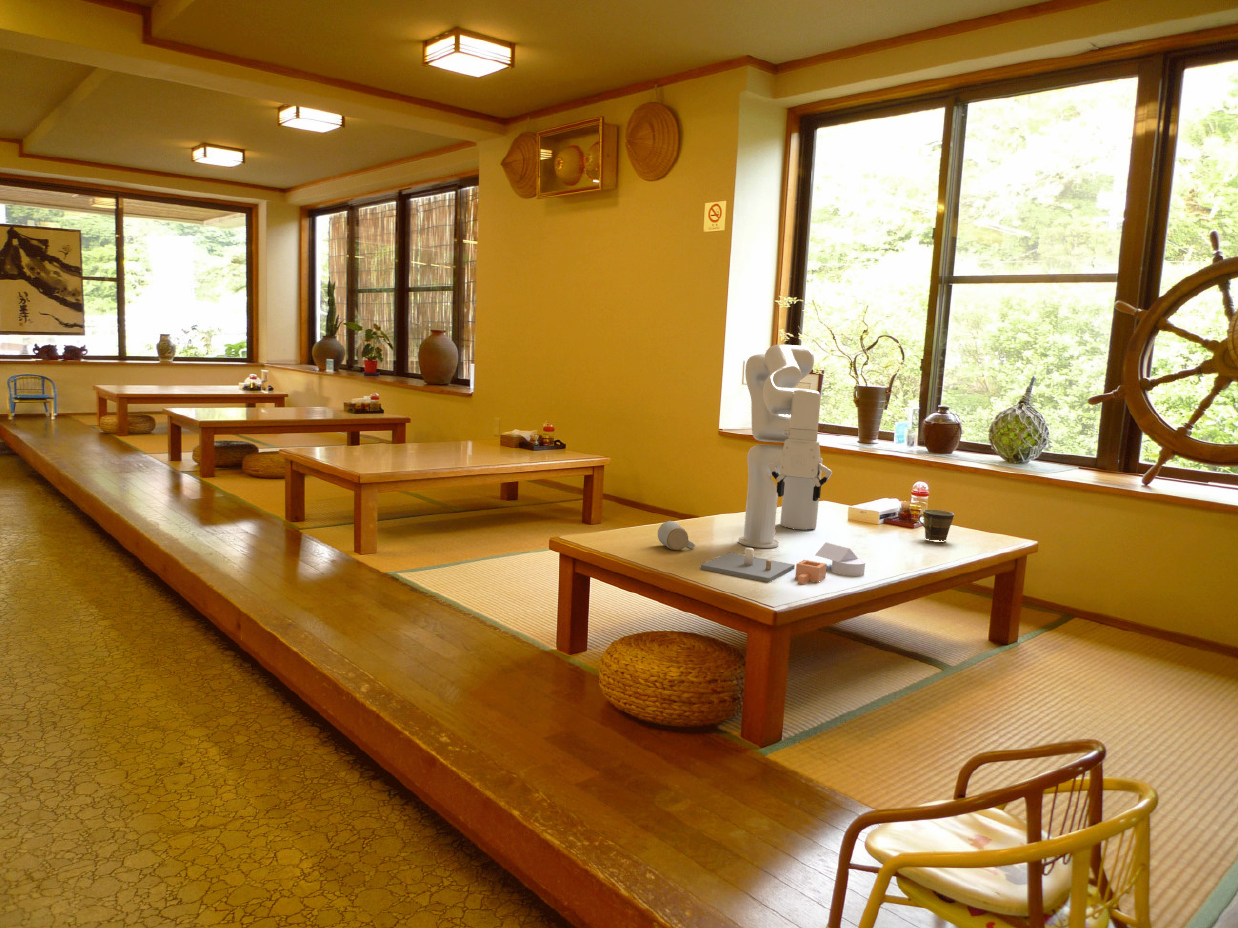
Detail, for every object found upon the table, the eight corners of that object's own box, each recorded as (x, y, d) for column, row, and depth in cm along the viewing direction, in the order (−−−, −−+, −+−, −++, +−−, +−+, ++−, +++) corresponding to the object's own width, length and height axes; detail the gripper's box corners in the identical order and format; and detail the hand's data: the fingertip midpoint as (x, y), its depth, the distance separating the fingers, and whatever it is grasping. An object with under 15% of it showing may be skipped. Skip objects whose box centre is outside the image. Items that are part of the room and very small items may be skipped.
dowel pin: (766, 568, 241) (767, 559, 241) (771, 569, 240) (772, 560, 240) (764, 569, 240) (765, 560, 240) (769, 570, 239) (770, 561, 239)
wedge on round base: (813, 566, 253) (851, 577, 243) (815, 543, 252) (853, 553, 242) (833, 563, 258) (870, 573, 248) (835, 540, 257) (872, 550, 247)
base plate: (729, 556, 258) (730, 537, 257) (794, 568, 248) (796, 549, 247) (700, 568, 241) (701, 548, 240) (768, 582, 231) (770, 561, 230)
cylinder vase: (808, 532, 302) (815, 460, 299) (774, 526, 309) (780, 456, 305) (821, 527, 312) (827, 457, 309) (788, 521, 319) (794, 453, 316)
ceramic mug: (666, 551, 259) (668, 526, 258) (656, 545, 267) (658, 520, 266) (698, 551, 263) (701, 526, 262) (687, 545, 270) (690, 520, 269)
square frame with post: (802, 573, 243) (804, 559, 243) (825, 577, 240) (826, 563, 239) (789, 581, 233) (790, 566, 233) (812, 586, 230) (813, 571, 230)
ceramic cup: (938, 537, 308) (941, 509, 307) (957, 544, 299) (960, 515, 297) (906, 537, 304) (909, 509, 302) (925, 544, 294) (928, 515, 293)
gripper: (767, 433, 237) (762, 496, 239) (831, 439, 229) (825, 503, 231) (776, 432, 244) (771, 493, 246) (838, 438, 236) (832, 500, 238)
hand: (797, 498), depth 239 cm, fingers open, 9 cm apart
